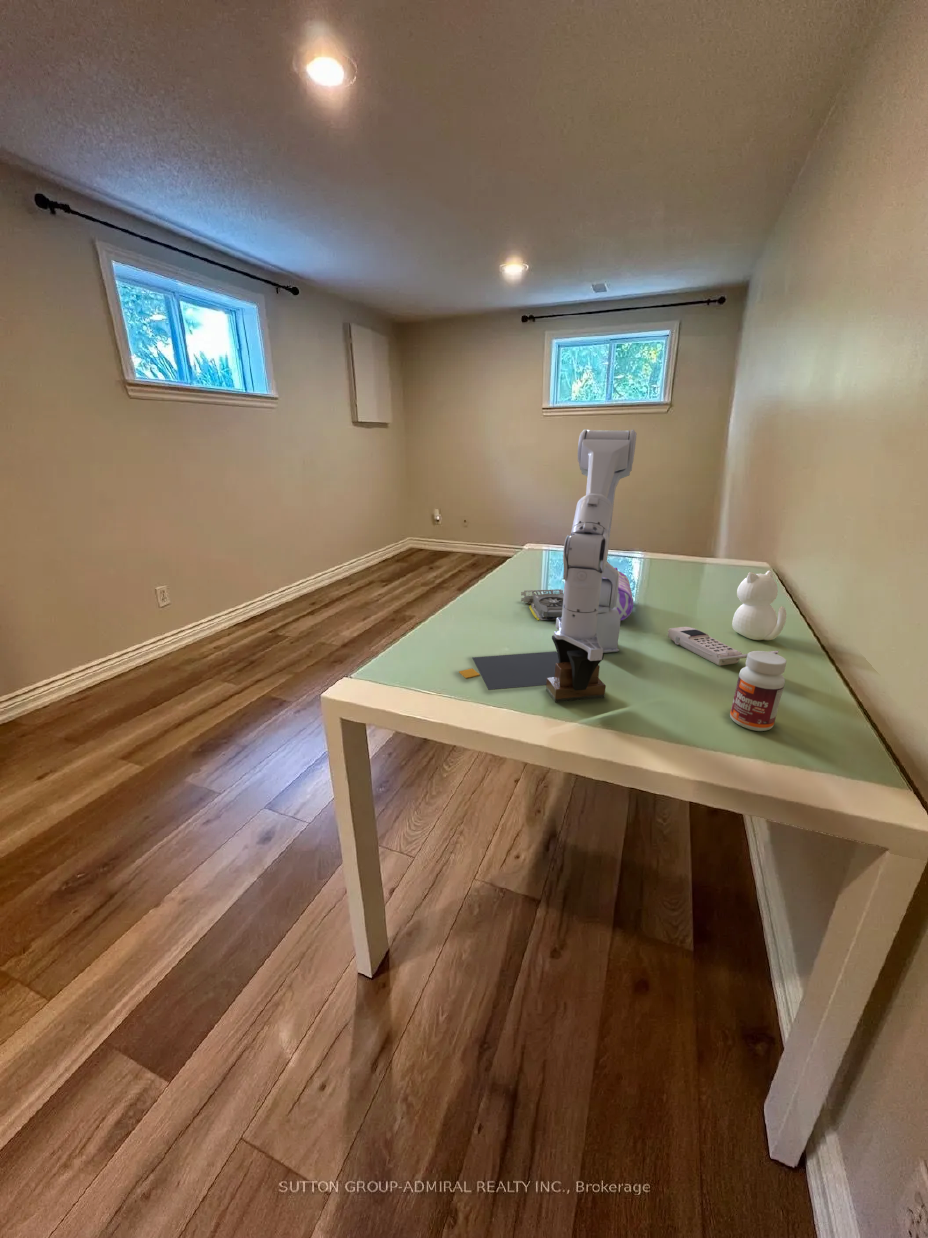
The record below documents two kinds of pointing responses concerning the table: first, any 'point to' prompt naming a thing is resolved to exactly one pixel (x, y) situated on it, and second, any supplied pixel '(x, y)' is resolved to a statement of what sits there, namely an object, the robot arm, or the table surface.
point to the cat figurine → (758, 608)
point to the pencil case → (624, 597)
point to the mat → (517, 669)
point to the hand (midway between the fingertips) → (573, 681)
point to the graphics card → (545, 604)
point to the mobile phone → (705, 646)
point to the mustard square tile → (469, 673)
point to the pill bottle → (759, 691)
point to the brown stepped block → (563, 687)
